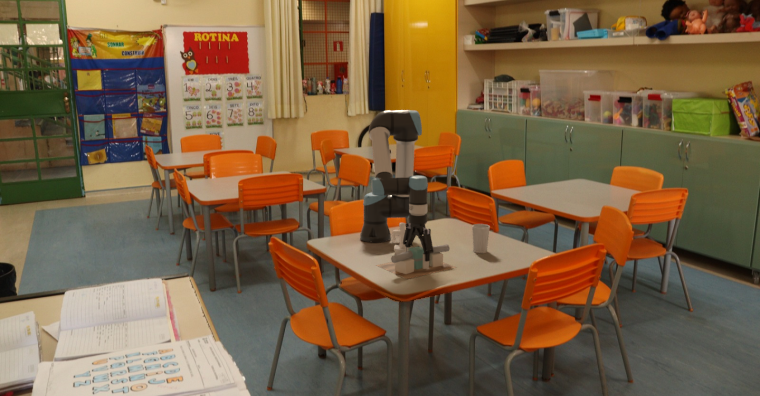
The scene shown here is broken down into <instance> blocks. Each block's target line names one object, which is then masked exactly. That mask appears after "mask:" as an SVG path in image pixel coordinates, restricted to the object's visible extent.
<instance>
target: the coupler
mask: <svg viewBox="0 0 760 396" xmlns="http://www.w3.org/2000/svg"><path fill="white" fill-rule="evenodd" d="M412 247H413V248H409V251H412V253H413V257H412V258H410V259H413V260H414V269H416V270H417V269H421V268H423V253H424V250H423V247H422V246H412Z"/></svg>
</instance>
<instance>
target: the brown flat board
mask: <svg viewBox="0 0 760 396" xmlns="http://www.w3.org/2000/svg"><path fill="white" fill-rule="evenodd" d="M375 266H376V267H379V268H381V269H383V270H386V271H388V272H389V273H393V274H395V275H396V276H400V277H401V278H403V279H406V280H411V279H414V278H418V277H422V276H427V275H431V274H432V275H433V274H435V273H439V272H443V271H448V270H452V269H456V268H457V266H454V265H453V264H452V265H451V264H449V263H446V262H444V261H443V266H437V267H431V266H430V265H429V268H427V269H423V268H421V269H417V270H416V269H414V272H411V273H408V274H403V273H400V272H397V271H395V263H393V262H392V261H389V262H385V263H380V264H377V265H375Z"/></svg>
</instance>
